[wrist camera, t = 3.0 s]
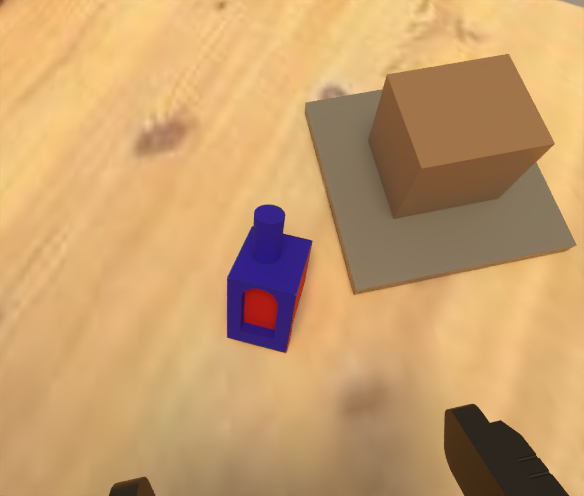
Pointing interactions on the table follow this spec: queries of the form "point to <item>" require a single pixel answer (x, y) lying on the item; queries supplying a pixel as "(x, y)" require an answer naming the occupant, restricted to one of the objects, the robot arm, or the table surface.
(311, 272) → the table surface
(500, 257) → the plate
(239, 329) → the toy building block
